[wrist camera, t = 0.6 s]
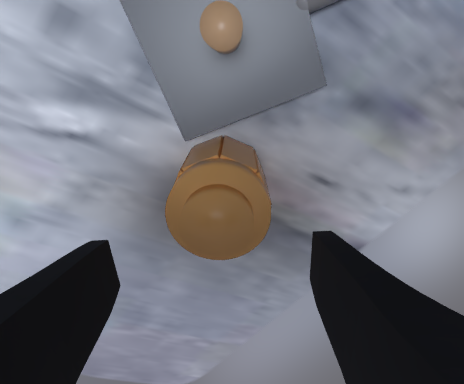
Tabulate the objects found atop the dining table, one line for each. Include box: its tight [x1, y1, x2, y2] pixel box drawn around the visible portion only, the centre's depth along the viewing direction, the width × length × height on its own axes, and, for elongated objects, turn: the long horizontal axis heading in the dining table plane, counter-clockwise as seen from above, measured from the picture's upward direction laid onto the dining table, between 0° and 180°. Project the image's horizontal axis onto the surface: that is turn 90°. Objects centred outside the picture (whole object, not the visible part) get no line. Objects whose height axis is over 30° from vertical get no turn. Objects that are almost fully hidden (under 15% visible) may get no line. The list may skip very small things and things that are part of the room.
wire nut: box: [165, 135, 272, 260], centre depth 15 cm, size 5×5×6 cm
